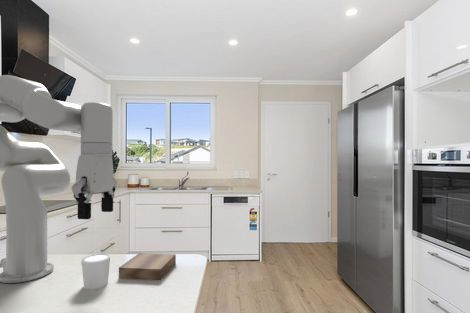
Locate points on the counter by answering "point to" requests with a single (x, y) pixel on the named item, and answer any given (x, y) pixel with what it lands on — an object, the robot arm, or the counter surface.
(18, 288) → the counter surface
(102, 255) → the white and grey cylinder
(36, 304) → the counter surface
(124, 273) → the walnut base
